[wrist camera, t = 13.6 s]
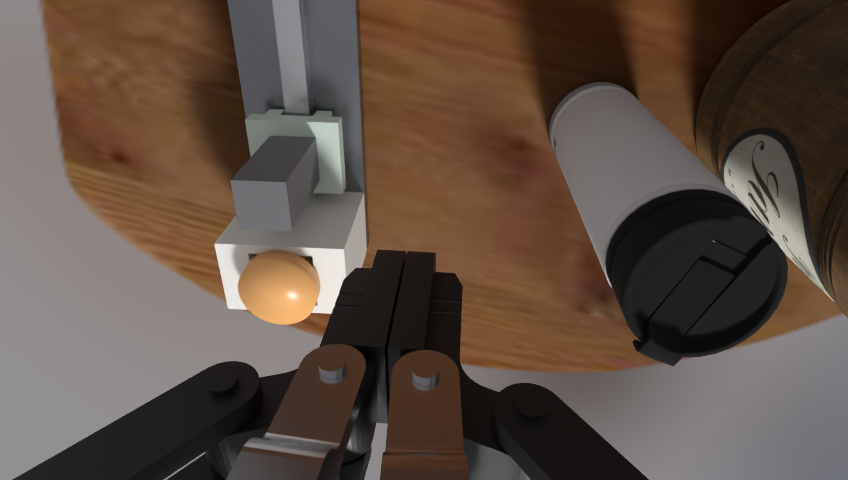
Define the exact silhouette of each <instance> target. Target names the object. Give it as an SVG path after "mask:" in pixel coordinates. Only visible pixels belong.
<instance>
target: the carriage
mask: <svg viewBox="0 0 848 480" xmlns="http://www.w3.org/2000/svg"><path fill="white" fill-rule="evenodd" d="M245 124H246V130H247V136H248V143H249V149H250V155H251V158H250V159H249V160H248V161H247V162H246V163H245V164H244V165H243V167H242V168H241V169H240V170H239V171H238V172H237V173H236V174H235V175H234V177H233V178H232V179H231V180H230V181H231V186H232V192H233V197H234V203H235V208H236V214H237V219H238V225H239V229H251V230H274V231H292V230H293V228H294V227H295V225H296V223H297V221H298V219H299V217H300V216H301V214H302V212H303V210H304V208H305V206H306V204H307V203H308V201H309V199H310V197H311V195H312V193H325V194H343V193H344V190H345V188H346V178H345V162H344V147H343V131H342V117H332V111H316V113H315V114H314V115H313V116H295V115H285V110H284V109H270V110H269V111H268V112H267V113H266V114H251V115H250V116H248V117H247V118H246V119H245Z"/></svg>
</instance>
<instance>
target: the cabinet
mask: <svg viewBox="0 0 848 480" xmlns="http://www.w3.org/2000/svg"><path fill="white" fill-rule="evenodd" d="M215 249H216V254H217V258H218V263H219V268H220V272H221V277H222V282H223V286H224V291H225V296H226V300H227V305H228V308H229V309H247V308H246V307H245V305H244V304H243V302H242V301H241V298H240V296H239V293H238V281H239V278H240V276H241V274H242V273H243V271H244V269H245V268H246V266H247V264H248V263H249V261H250V260H251V259H252V258H253V257H255V256H256V255H258V254H259V253H262V252H265V251H269V250H283V251H288V252H291V253H294V254H296V255H298V256H312V258H313V268H314V269H315V271H316V272H317V274H318V277H319V280H320V293H319V296H318V299H317V302H316V304H315V307H314V309H313V311H312V312H311V313H330V314H332V311H333V308H334V307H335V302H336V300H337V297H338V296H339V291H340V288H341V286H342V283H343V280H344V279H345V278H346V277H347V276H348V275H349V274H350V273H351V272H352V271H353V270H354V269H355V268H362V265H363V262H364V258H365V255H366V251H367V245H366V223H365V201H364V192H344V193H343V194H325V193H320V194H319V196H318V197H317V198H310V199H309V201H308V203H307V204H306V206H305V208H304V210H303V212H302V214H301V216H300V217H299V219H298V221H297V223H296V225H295V227H294V228H293V230H292V231H274V230H251V229H239V225H238V219H237V215H236V216H235V217H234V219H233V220H232V221H231V223H230V224H229V225H228V227H227V228H226V229H225V230H224V232H223V233H222V234H221V236H220V237H219V238H218V240H217V241H216V242H215ZM247 310H248V309H247Z"/></svg>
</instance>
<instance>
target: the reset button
mask: <svg viewBox="0 0 848 480" xmlns="http://www.w3.org/2000/svg"><path fill="white" fill-rule="evenodd" d="M238 293H239V296H240V298H241V301H242V302H243V304H244V305H245V307H246V308H247V309H248V310H249V311H250V312H251V313H253V314H254V315H255V316H257V317H259V318H260V319H262V320H265V321H267V322H270V323H275V324H293V323H297V322H300V321H302V320H304V319H305V318H306V317H308V316H309V315H310V314H311V312H312V311H313V309H314V307H315V304H316V302H317V299H318V296H319V293H320V280H319V277H318V274H317V272H316V271H315V269H314V268H313V258H312V256H298V255H296V254H294V253H291V252H288V251H283V250H269V251H265V252H262V253H259V254H258V255H256V256H255V257H253V258H252V259H251V260H250V261H249V263H248V264H247V266H246V268H245V269H244V271H243V273H242V274H241V276H240V278H239V281H238Z"/></svg>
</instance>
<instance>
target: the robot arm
mask: <svg viewBox="0 0 848 480" xmlns="http://www.w3.org/2000/svg"><path fill="white" fill-rule="evenodd" d="M462 288H463V286H462V284H461V283H460V281H459V279H458V278H457V276H456V274H455V273H442V272H436V253H432V252H414V251H408V252H407V255H406V251H394V250H377V252H376V256H375V259H374V263H373V266H372V269H371V268H355V269H354V270H353V271H352V272H351V273H350V274H349V275H348V276H347V277H346V278H345V279H344V280H343V283H342V286H341V288H340V291H339V296H338V297H337V300H336V302H335V307H334V308H333V311H332V314H331V316H330V319H329V322H328V325H327V328H326V330H325V333H324V336H323V339H322V342H321V344H320V347H319V348H317V349H315V350H313V351H312V352H310V353H309V354H307V355H306V356H305V358H304V359H303V360H302V362H301V363H300V366H299V368H298V369H296V370H293V371H290V372H287V373H282V374H277V375H272V376H266V377H260V378H259V375H258V373H257V371H256V370H255V369H254V368H253V367H252V366H250V365H249V364H246V363H243V362H237V361H229V362H223V363H219V364H216V365H213V366H211V367H209V368H207V369H205V370H203V371H201V372H200V373H198V374H196V375H195V376H193V377H191V378H189V379H188V380H186V381H184V382H182V383H181V384H179V385H177V386H175V387H174V388H172V389H170V390H168V391H167V392H165V393H163V394H161V395H160V396H158V397H156V398H155V399H153V400H151V401H149V402H147V403H146V404H144V405H142V406H140V407H139V408H137V409H136V410H134V411H132V412H130V413H128V414H126V415H125V416H123V417H121V418H120V419H118V420H116V421H114V422H112V423H111V424H109V425H107V426H106V427H104V428H102V429H100V430H99V431H97V432H95V433H93V434H92V435H90V436H88V437H86V438H85V439H83V440H81V441H79V442H78V443H76V444H74V445H72V446H71V447H69V448H67V449H65V450H64V451H62V452H60V453H58V454H57V455H55V456H53V457H52V458H50V459H48V460H46V461H44V462H43V463H41V464H39V465H37V466H36V467H34V468H32V469H30V470H29V471H27V472H25V473H24V474H22V475H20V476H18V477H16V478H15V479H13V480H163V479H165V478H166V477H168V476H169V475H171V474H172V473H174V472H175V471H177V470H178V469H180V468H181V467H183V466H184V465H186V464H187V463H188V462H190V461H191V460H193V459H195V458H196V457H197V456H199V455H200V454H202V453H203V452H205V454H204V455H203V456H201V457H200V458H198V459H197V460H195V461H194V462H192V463H191V464H189V465H188V466H186V467H185V468H183V469H182V470H181V471H179V472H177V473H176V474H175V475H173V476H172V477H170V478H169V479H167V480H364V478H365V475H366V471H367V468H368V464H369V460H370V457H371V452H372V448H371V447H372V446H371V443H372V440H373V436H374V431H375V426H376V423H388V428H387V439H386V450H385V452H384V453H383V457H382V464H381V476H380V480H649V479H648V478H646V477H645V476H644V475H643V474H642V473H641V472H640V471H639V470H638V469H637V468H635V467H634V466H633V465H632V464H631V463H630V462H629V461H628V460H627V459H625V458H624V457H623V456H622V455H621V454H620V453H619V452H618V451H617V450H615V448H614V447H612V446H611V445H610V444H609V443H608V442H607V441H606V440H605V439H604V438H603V437H601V436H600V435H599V434H598V433H597V432H596V431H595V430H594V429H593V428H592V427H590V426H589V425H588V424H587V423H586V422H585V421H584V420H583V419H582V418H581V417H579V416H578V415H577V414H576V413H575V412H574V411H573V410H572V409H571V408H570V407H568V406H567V405H566V404H565V403H564V402H563V401H562V400H561V399H560V398H559V397H558V396H556V395H555V394H554V393H553V392H551V391H550V390H548V389H546V388H544V387H542V386H539V385H535V384H530V383H518V384H513V385H510V386H508V387H506V388H504V389H503V390H501V391H500V392H497V391H494V390H491V389H488V388H486V387H483V386H481V385H479V384H477V383H475V382H474V381H473V380H471V379H470V378H469V377H468V376H467V375H466V373H465V372H464V371H463V369H462V367H461V364H460V336H461V312H462Z"/></svg>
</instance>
